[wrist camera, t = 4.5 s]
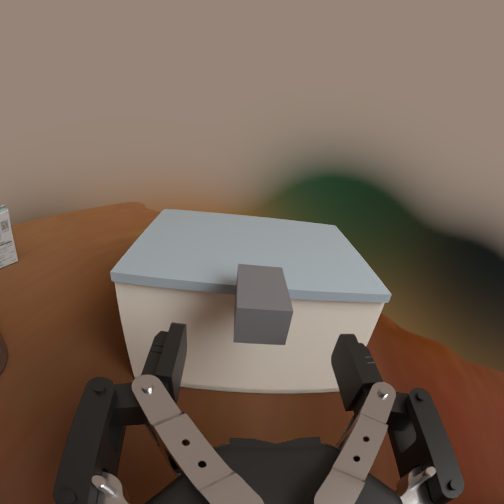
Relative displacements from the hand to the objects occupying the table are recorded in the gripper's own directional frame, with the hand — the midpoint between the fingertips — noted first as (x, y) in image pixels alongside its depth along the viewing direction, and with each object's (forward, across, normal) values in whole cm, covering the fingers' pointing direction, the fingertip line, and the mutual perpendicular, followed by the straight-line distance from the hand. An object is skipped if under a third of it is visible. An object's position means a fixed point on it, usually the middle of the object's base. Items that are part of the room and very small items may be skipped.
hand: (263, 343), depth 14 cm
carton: (+15, 0, +14) cm, 20 cm away
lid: (+12, 0, +1) cm, 12 cm away
